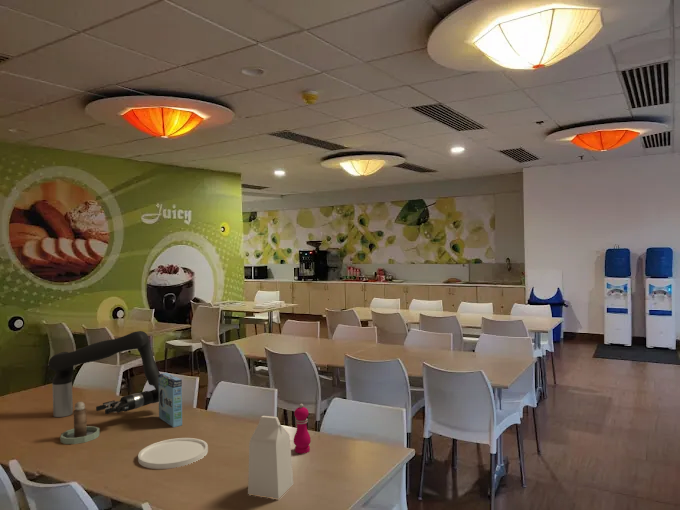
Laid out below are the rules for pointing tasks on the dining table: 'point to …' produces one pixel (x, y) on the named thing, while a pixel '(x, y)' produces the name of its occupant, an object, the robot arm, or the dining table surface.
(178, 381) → the light blue cardboard box
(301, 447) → the pepper mill
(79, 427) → the wooden peg figure
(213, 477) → the dining table surface
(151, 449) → the plate
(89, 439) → the round tray
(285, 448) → the milk
